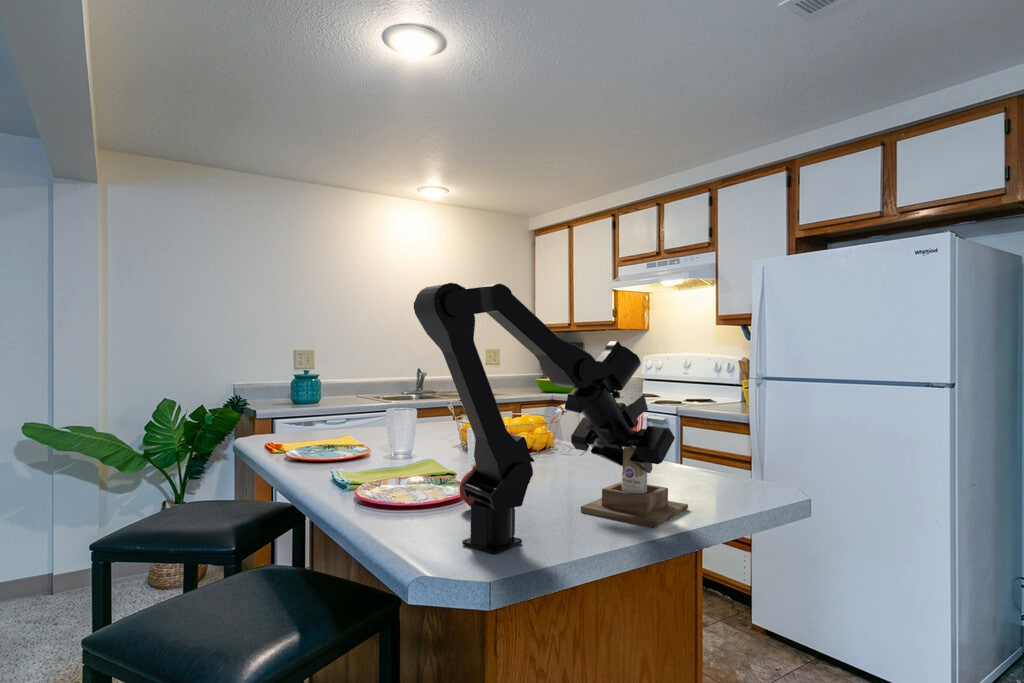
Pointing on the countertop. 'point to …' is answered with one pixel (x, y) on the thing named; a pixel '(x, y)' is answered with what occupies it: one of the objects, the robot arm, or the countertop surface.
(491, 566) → the countertop surface
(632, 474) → the sprinkles bottle
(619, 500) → the walnut collar holder
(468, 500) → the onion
